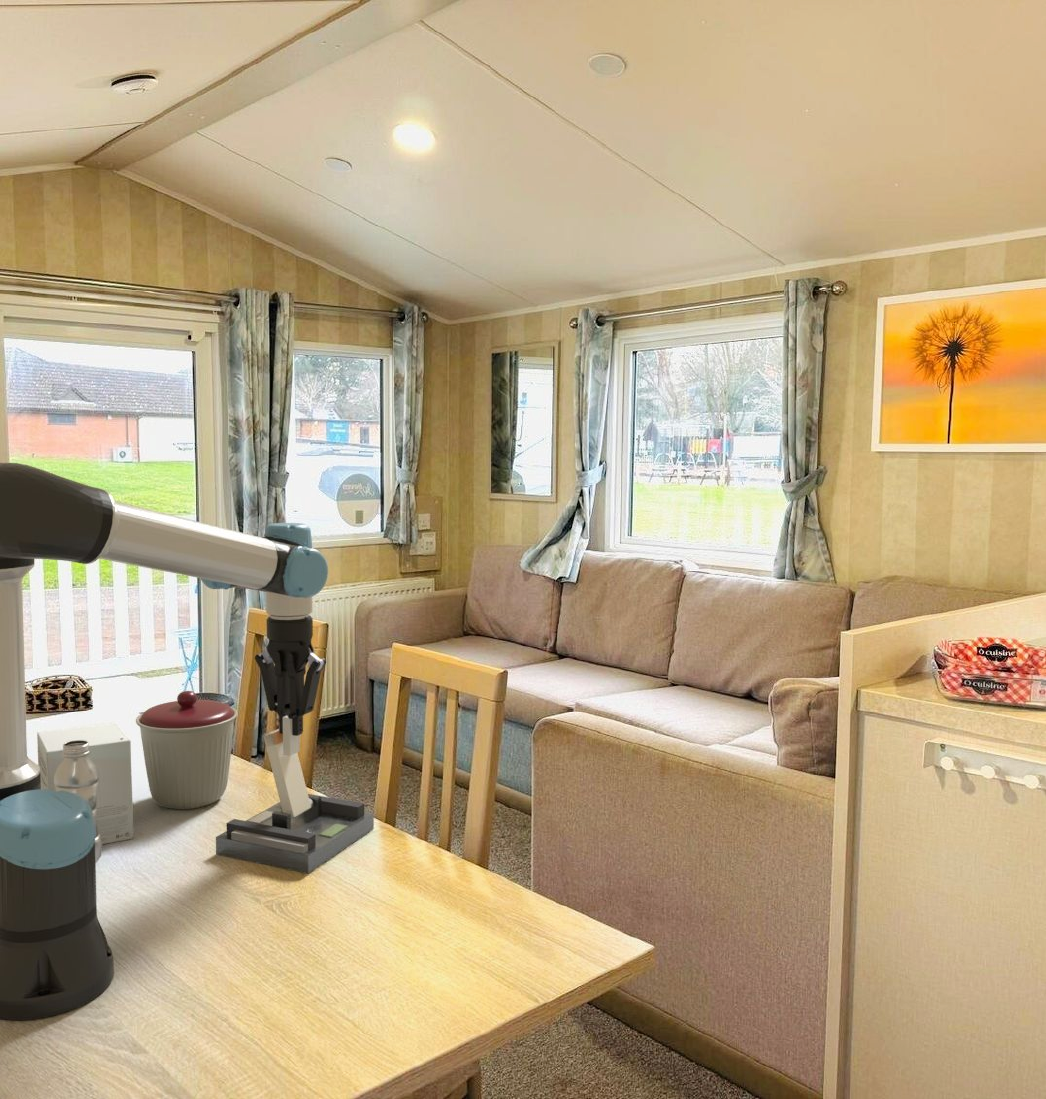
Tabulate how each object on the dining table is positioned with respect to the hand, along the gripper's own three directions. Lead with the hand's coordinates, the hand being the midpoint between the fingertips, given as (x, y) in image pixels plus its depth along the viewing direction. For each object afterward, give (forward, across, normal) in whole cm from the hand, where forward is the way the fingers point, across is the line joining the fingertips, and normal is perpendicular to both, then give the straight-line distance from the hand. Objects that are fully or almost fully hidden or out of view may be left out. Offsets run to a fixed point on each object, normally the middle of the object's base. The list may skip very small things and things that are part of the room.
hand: (291, 752), depth 166 cm
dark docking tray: (+12, -1, +1) cm, 12 cm away
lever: (+10, -1, 0) cm, 10 cm away
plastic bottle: (+16, +25, +22) cm, 37 cm away
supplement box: (+16, +34, +12) cm, 39 cm away
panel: (+15, -1, 0) cm, 15 cm away
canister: (+16, +29, -8) cm, 34 cm away
